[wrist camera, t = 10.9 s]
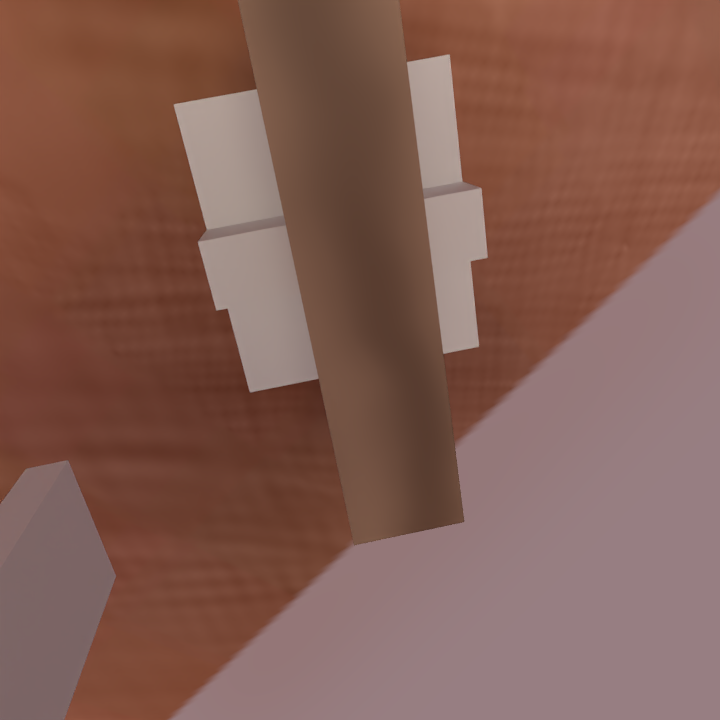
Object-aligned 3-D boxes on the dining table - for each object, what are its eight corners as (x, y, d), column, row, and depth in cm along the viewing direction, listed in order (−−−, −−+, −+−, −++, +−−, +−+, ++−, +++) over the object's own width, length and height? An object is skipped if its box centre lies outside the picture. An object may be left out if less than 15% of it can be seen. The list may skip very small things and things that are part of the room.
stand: (250, 385, 37) (242, 446, 30) (177, 104, 31) (144, 100, 24) (474, 341, 37) (516, 390, 31) (444, 56, 31) (489, 37, 24)
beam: (344, 482, 31) (354, 545, 27) (242, 0, 23) (231, -30, 18) (438, 463, 32) (464, 521, 27) (371, -22, 23) (392, -57, 19)
